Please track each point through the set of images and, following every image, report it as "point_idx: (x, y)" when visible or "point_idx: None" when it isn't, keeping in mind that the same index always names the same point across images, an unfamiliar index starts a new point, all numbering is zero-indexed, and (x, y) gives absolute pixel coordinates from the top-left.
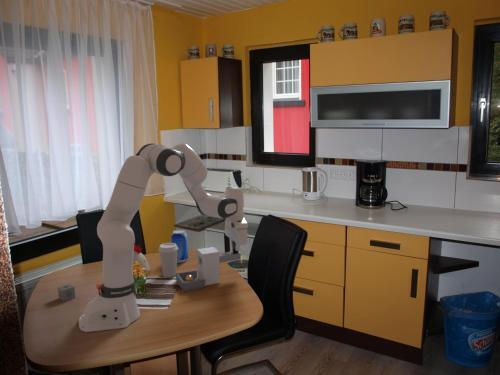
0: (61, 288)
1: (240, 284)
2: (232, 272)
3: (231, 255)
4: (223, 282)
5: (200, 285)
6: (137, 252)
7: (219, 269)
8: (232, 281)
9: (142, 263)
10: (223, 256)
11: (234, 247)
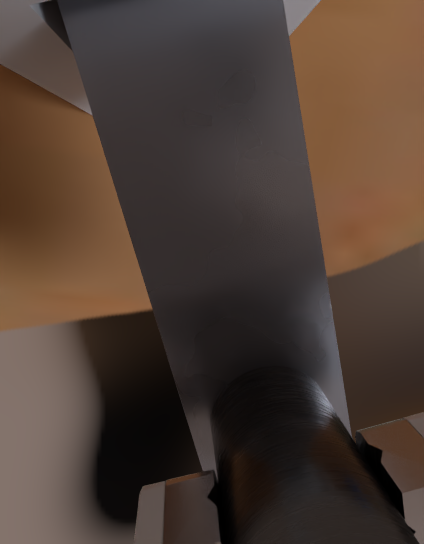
0: None
1: (34, 293)
2: None
3: (164, 330)
4: (97, 150)
5: None
6: None
7: (49, 87)
8: (110, 235)
9: None
10: (111, 163)
11: (234, 502)
